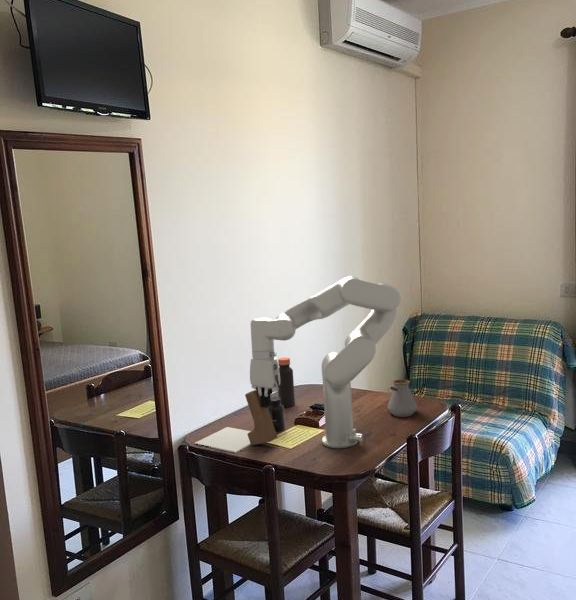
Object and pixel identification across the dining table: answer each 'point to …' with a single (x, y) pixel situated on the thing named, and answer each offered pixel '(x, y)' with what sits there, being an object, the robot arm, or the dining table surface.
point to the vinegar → (286, 383)
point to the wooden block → (260, 420)
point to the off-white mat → (227, 440)
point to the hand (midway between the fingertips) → (265, 406)
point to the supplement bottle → (277, 413)
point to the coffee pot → (401, 399)
